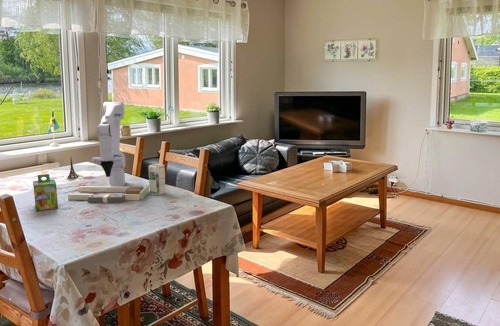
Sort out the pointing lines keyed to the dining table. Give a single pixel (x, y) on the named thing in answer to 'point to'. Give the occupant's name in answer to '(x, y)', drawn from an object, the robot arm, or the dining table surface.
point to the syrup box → (157, 179)
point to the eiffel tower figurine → (73, 173)
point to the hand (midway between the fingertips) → (108, 176)
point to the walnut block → (134, 189)
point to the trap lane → (107, 197)
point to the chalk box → (45, 193)
